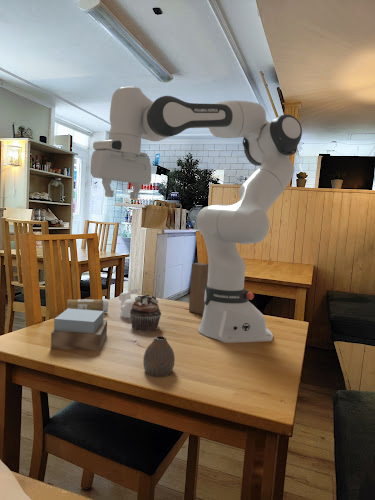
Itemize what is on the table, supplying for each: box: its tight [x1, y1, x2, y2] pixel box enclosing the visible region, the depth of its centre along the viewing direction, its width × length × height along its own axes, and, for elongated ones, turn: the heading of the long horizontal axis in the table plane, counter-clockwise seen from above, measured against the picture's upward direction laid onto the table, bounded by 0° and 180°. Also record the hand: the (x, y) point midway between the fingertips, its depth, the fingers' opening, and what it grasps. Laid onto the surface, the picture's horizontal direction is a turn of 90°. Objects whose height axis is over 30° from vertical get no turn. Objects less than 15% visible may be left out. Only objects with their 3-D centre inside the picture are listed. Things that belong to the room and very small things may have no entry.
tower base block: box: [50, 319, 108, 352], centre depth 98 cm, size 12×12×5 cm
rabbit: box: [118, 287, 141, 320], centre depth 125 cm, size 10×7×10 cm
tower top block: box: [53, 308, 105, 333], centre depth 97 cm, size 10×10×3 cm
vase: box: [142, 335, 176, 378], centre depth 82 cm, size 7×7×9 cm
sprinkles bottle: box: [66, 298, 109, 313], centre depth 126 cm, size 5×5×14 cm
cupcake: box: [130, 294, 162, 332], centre depth 113 cm, size 10×10×10 cm
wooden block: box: [188, 262, 208, 316], centre depth 134 cm, size 9×4×18 cm, turn 51°
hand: (121, 198), depth 104 cm, fingers open, 8 cm apart
